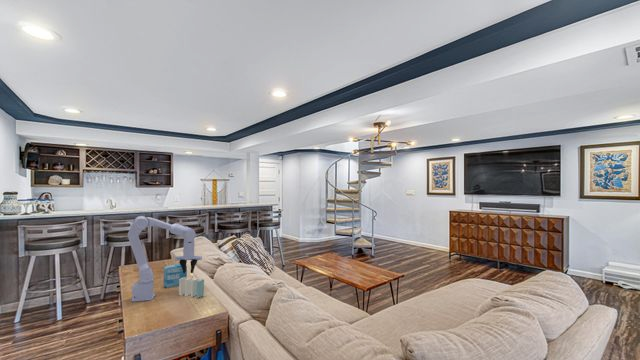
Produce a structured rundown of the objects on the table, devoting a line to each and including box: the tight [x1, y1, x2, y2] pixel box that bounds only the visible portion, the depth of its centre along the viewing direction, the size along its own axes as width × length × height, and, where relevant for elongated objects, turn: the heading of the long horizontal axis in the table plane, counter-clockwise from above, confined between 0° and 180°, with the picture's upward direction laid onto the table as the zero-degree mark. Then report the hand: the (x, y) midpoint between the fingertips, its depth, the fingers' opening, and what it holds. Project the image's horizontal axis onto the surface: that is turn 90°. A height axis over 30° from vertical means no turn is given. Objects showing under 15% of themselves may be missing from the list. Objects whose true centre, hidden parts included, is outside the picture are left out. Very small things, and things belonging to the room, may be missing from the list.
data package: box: [163, 263, 188, 289], centre depth 173 cm, size 12×4×12 cm, turn 133°
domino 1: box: [178, 277, 188, 296], centre depth 158 cm, size 1×4×9 cm, turn 162°
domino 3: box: [190, 278, 199, 298], centre depth 155 cm, size 1×4×9 cm, turn 162°
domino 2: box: [184, 277, 193, 297], centre depth 157 cm, size 1×4×9 cm, turn 162°
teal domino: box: [196, 278, 205, 299], centre depth 154 cm, size 1×4×9 cm, turn 162°
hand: (188, 272), depth 163 cm, fingers open, 4 cm apart
